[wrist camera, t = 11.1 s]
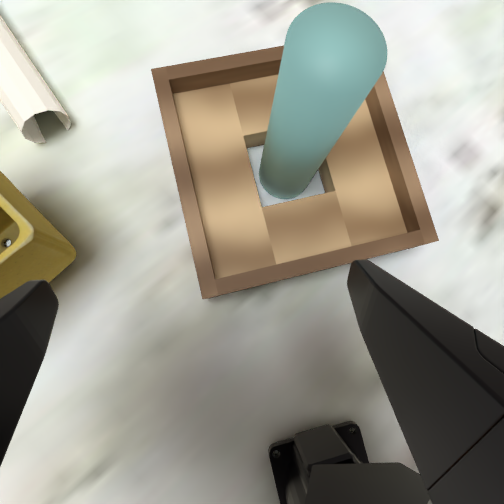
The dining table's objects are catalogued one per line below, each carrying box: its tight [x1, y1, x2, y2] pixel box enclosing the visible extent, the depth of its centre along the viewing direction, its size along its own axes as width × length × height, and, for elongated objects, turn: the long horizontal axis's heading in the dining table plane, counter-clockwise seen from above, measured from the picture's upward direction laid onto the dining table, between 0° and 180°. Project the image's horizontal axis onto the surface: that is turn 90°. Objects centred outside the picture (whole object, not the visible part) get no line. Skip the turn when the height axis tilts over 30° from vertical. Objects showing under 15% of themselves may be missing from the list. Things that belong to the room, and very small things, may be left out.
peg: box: [259, 3, 387, 199], centre depth 18 cm, size 4×4×12 cm
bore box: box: [151, 46, 439, 299], centre depth 22 cm, size 16×16×4 cm
